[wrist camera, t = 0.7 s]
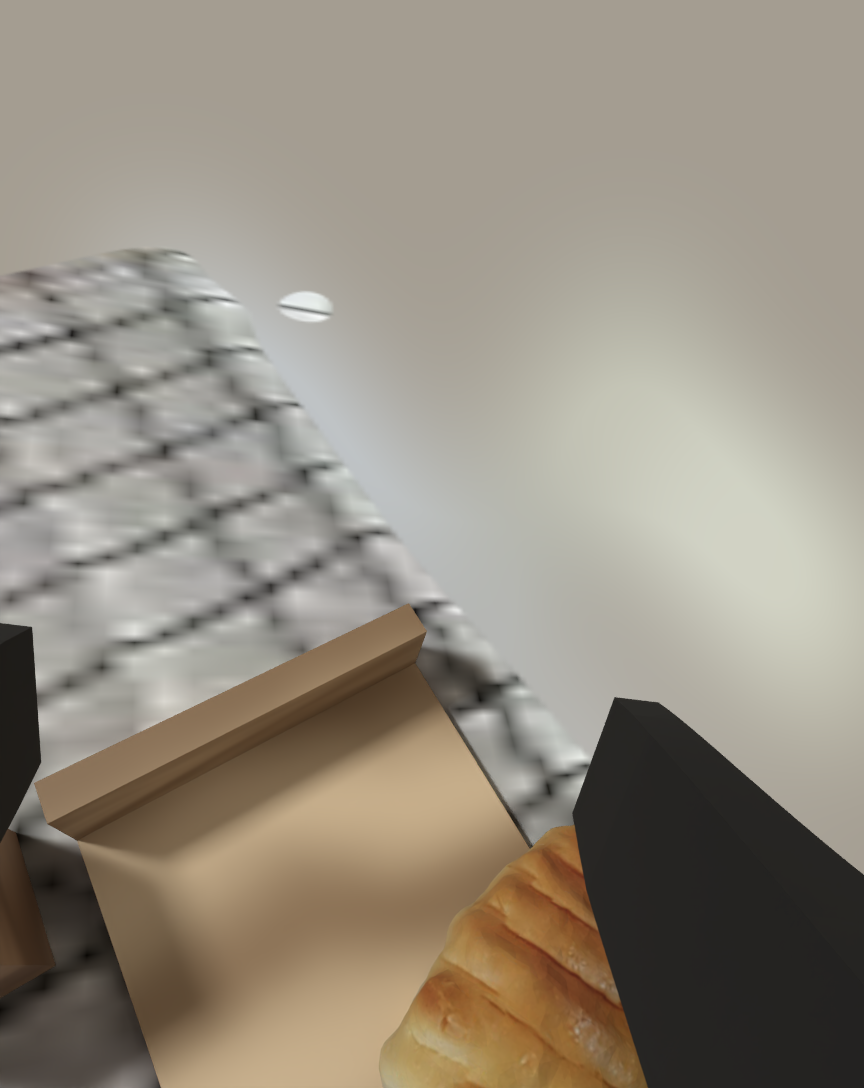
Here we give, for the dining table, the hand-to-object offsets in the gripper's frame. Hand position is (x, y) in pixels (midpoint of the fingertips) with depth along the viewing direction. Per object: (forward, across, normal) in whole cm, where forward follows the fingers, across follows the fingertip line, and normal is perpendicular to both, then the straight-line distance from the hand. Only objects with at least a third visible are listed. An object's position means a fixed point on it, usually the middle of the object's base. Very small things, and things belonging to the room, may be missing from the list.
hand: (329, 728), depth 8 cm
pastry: (+5, -7, +14) cm, 17 cm away
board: (+7, -2, +13) cm, 15 cm away
